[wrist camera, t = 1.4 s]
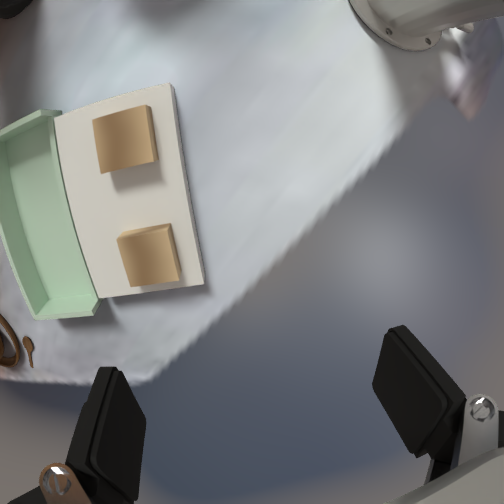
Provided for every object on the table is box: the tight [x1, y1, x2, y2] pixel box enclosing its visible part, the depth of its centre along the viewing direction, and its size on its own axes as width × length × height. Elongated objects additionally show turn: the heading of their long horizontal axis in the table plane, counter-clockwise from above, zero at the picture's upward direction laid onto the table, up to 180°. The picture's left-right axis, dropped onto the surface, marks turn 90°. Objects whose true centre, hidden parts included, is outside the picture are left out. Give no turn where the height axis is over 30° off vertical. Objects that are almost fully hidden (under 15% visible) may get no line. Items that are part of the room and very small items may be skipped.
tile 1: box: [92, 105, 159, 174], centre depth 20 cm, size 4×4×2 cm
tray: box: [0, 109, 104, 320], centre depth 23 cm, size 8×20×4 cm, turn 7°
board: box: [54, 83, 205, 298], centre depth 24 cm, size 11×18×2 cm, turn 7°
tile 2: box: [116, 223, 181, 287], centre depth 24 cm, size 4×4×2 cm
